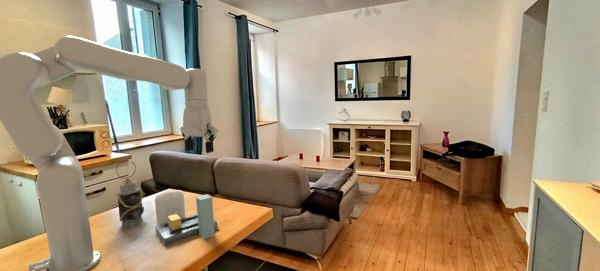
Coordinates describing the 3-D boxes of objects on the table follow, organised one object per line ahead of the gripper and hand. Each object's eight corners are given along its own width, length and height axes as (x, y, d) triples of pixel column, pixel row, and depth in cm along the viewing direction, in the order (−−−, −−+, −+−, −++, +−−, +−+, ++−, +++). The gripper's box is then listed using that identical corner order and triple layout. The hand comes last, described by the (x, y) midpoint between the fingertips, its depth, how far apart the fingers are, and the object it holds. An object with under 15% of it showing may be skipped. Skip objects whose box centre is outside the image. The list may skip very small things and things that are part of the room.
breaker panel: (165, 245, 90) (164, 237, 90) (156, 232, 99) (155, 224, 99) (217, 228, 102) (217, 220, 101) (205, 217, 111) (204, 210, 110)
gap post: (203, 239, 94) (200, 200, 92) (199, 235, 97) (196, 196, 95) (214, 235, 96) (212, 197, 94) (210, 231, 99) (207, 194, 97)
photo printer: (184, 216, 113) (182, 186, 111) (186, 219, 109) (184, 189, 108) (156, 222, 107) (153, 192, 106) (157, 227, 104) (154, 195, 102)
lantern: (139, 216, 113) (132, 157, 110) (149, 221, 109) (142, 159, 105) (115, 225, 106) (107, 161, 102) (125, 230, 101) (117, 164, 98)
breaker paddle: (172, 230, 95) (171, 220, 94) (168, 225, 99) (167, 216, 98) (181, 227, 97) (180, 218, 96) (177, 222, 101) (176, 213, 100)
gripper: (170, 104, 99) (174, 151, 102) (207, 104, 92) (210, 155, 94) (187, 104, 106) (190, 148, 108) (222, 104, 98) (225, 151, 101)
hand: (199, 151), depth 101 cm, fingers open, 9 cm apart
